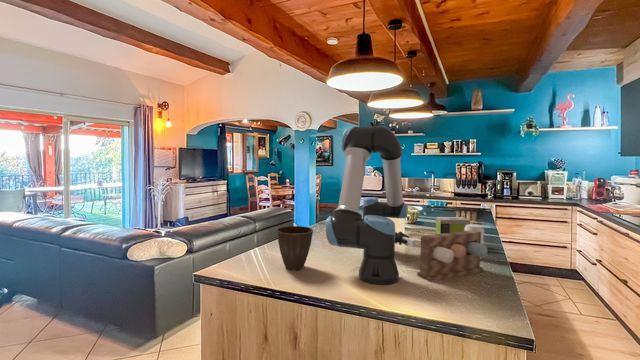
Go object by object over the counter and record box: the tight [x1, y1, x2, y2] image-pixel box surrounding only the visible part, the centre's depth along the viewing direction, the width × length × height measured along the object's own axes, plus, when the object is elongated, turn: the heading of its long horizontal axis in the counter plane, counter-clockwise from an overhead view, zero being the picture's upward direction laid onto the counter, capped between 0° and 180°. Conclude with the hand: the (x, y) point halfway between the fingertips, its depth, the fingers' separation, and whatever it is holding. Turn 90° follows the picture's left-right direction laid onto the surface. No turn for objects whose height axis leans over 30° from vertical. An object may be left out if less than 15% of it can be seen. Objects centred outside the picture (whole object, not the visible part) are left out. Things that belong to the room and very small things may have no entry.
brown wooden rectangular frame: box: [416, 230, 484, 283], centre depth 133 cm, size 28×7×16 cm, turn 115°
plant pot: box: [276, 225, 314, 271], centre depth 138 cm, size 15×15×16 cm
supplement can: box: [464, 223, 485, 260], centre depth 155 cm, size 8×8×15 cm
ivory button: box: [432, 246, 454, 263], centre depth 126 cm, size 5×9×5 cm, turn 25°
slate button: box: [467, 241, 488, 258], centre depth 134 cm, size 5×9×5 cm, turn 25°
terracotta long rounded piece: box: [450, 243, 466, 258], centre depth 132 cm, size 5×9×5 cm, turn 25°
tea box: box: [435, 216, 471, 234], centre depth 176 cm, size 15×10×15 cm, turn 84°
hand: (413, 243), depth 139 cm, fingers closed
